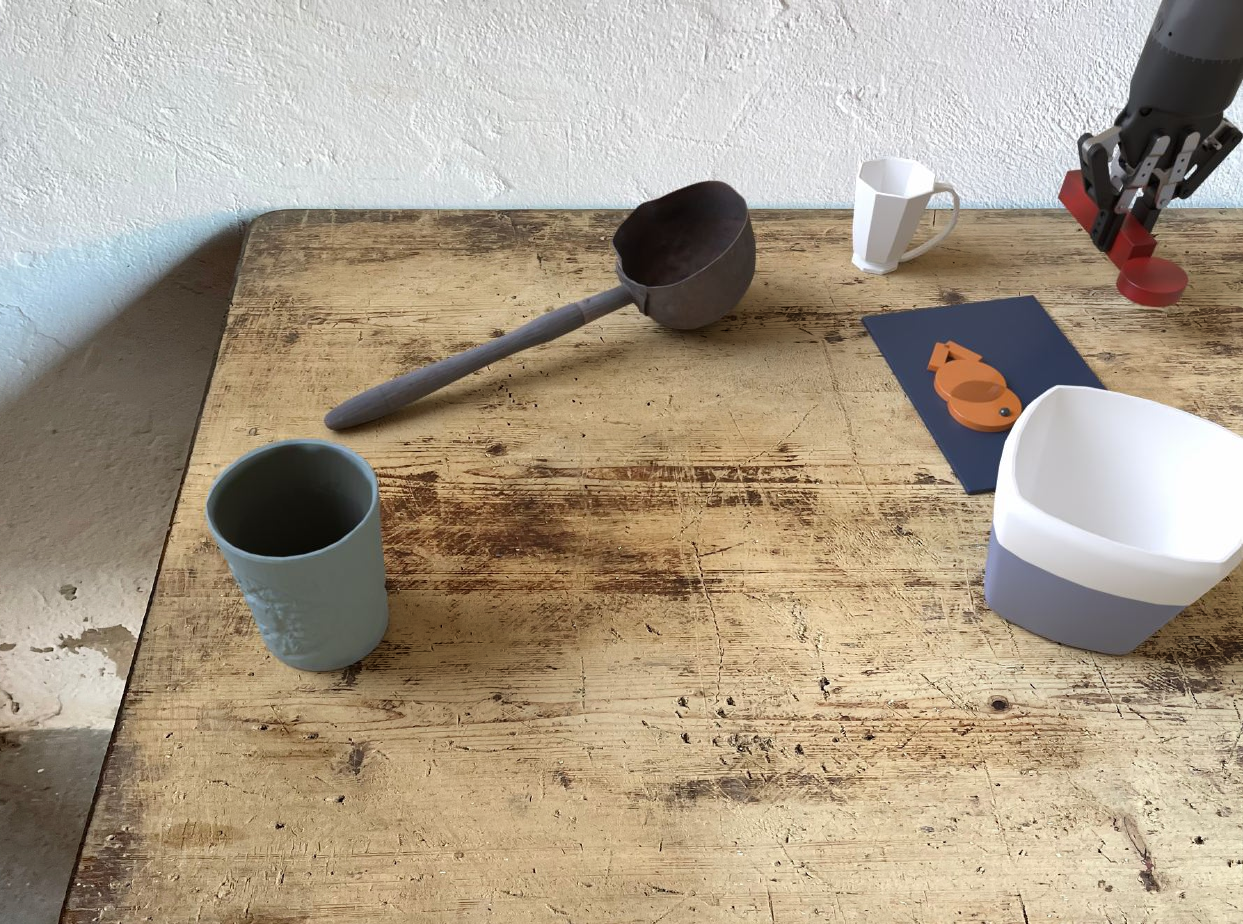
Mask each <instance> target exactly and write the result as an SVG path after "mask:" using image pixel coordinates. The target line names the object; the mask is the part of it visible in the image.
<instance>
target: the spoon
mask: <svg viewBox="0 0 1243 924" xmlns="http://www.w3.org/2000/svg"><path fill="white" fill-rule="evenodd" d="M1057 199H1058V200H1059V201H1060V203H1061V204H1062V205H1063V206H1064V208H1066V210H1067V211H1068V212H1069V213H1070V214H1071V215H1072V217H1073V218H1074V219H1075V220H1076V222H1078V224H1079V225H1080V226H1081V227H1082V228H1083V229H1084V230H1085V232H1086V233H1087V234H1088V235H1089V236H1090V231H1091V228H1092V227H1093V223H1094V222H1095V218H1096V216H1097V213H1098V211H1099V208H1098V207H1097V206H1096V205H1095V203H1094V202H1093V201H1092V200H1091V199H1090V198H1089V197H1088V195H1087V194H1086V193H1085V192H1084V186H1083V179H1082V173H1081V168H1080V169H1079V168H1078V169H1071V170H1067V171H1066V174H1065V176H1064V179H1063V182H1062V185H1061V187H1060V190H1059V193H1058V196H1057ZM1125 212H1126V213H1127V215H1126V217H1125V220H1124V222H1123V224H1122V227H1121V229H1120V230H1119V232H1118V235H1117V237H1116V239H1115V242H1114V244H1113V246H1112V249H1111V250H1110V251H1109V252H1103V253H1104V254H1105V255H1106V256H1107V257H1108V259H1109V260H1110V261H1111V262H1112V263H1113V265H1114V266H1115V267H1116V268H1117V269H1118V270H1119V273H1118V276H1117V279H1116V282H1115V285H1116V288H1117V291H1118V292H1119V294H1120V295H1122V296H1123V297H1124V298H1126V299H1127V300H1129V301H1130V302H1132V303H1134V304H1136V305H1137V304H1138V305H1140V306H1145V307H1148V308H1165V307H1166V308H1167V307H1171V306H1174V305H1175V304H1176V303H1178V302H1179V301H1180V300H1181V299H1182V297H1183V294H1184V292H1185V291H1186V289H1187V286H1188V284H1189V275H1188V274H1187V272H1186V271H1185V270H1184V269H1183V268H1182V267H1181V266H1179V265H1178V264H1176V263H1174V262H1173V261H1170V260H1168V259H1165V258H1161V257H1158V256H1153V254H1154V252H1155V250H1156V247H1157V246H1158V243H1159V242H1158V241H1157V240H1156V238H1155V237H1153V235H1152V233H1151V234H1150V233H1149V232H1148V231H1147V230H1146V229H1145V228H1144V227H1143V226H1142V225H1141V224H1140V223H1139V222H1138V220H1137V219H1136V218H1135V217H1134V216H1133V215H1132V214H1131V213H1130V212H1131V210H1129V208H1128V209H1127V210H1126V211H1125Z"/></svg>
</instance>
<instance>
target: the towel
mask: <svg viewBox="0 0 1243 924" xmlns="http://www.w3.org/2000/svg"><path fill="white" fill-rule="evenodd" d="M860 321H861V323H862V324H863V326H864V327H865V329H866V331H867V332H868V334H869V336H870V338H871V339H872V340H873V342H874V344H875V346H876V347H877V348H878V351H879V352H880V354H881V356H882V357H883V358H884V360H885V362H886V363H887V366H888V367H889V368H890V370H891V372H892V373H893V375H894V376H895V378H896V380H897V381H898V383H899V384H900V386H901V388H902V389H903V391H904V393H905V394H906V396H907V398H908V399H909V401H910V403H911V404H912V406H913V407H914V409H915V411H916V413H917V414H918V415H919V417H920V419H921V421H922V423H923V424H924V425H925V428H926V429H927V430H928V432H929V434H930V435H931V437H932V438H933V440H934V442H935V443H936V445H937V447H938V449H939V450H940V451H941V454H942V455H943V457H944V458H945V460H946V461H947V463H948V465H949V467H950V468H951V469H952V471H953V474H954V475H955V476H956V478H957V480H958V481H959V483H960V484H961V486H962V487H963V489H964V491H965V492H966V494H967V496H970V495H976V494H977V495H978V494H984V493H989V492H996V486H997V479H998V472H999V466H1000V461H1001V457H1002V453H1003V449H1004V445H1005V442H1006V440H1007V438H1008V436H1009V434H1010V432H1011V430H1012V428H1013V427H1011V428H1010V429H1007V430H1005V431H1001V432H981V431H976V430H973V429H970V428H968V427H966V426H964V425H962V424H960V423H959V422H958V421H956V420H955V419H954V418H953V417H952V415H951V414H950V412H949V410H948V406H947V402H946V401H945V400H944V399H942V398H941V397H940V396H939V395H938V393H937V392H936V390H935V387H934V378H935V375H936V372H935V371H931V370H927V368H928V365H929V362H930V359H931V357H932V354H933V351H934V348H935V346H936V343H937V342H938V343H942V344H946V343H947V342H949V341H952V342H954V343H956V344H958V345H960V346H962V347H964V348H966V349H968V350H970V351H972V352H974V353H976V354H978V355H980V356H982V357H983V358H982V361H981V362H982V363H984V364H987V365H989V366H991V367H993V368H994V369H996V370H997V371H998V372H999V373H1000V374H1001V375H1002V376H1003V378H1004V379H1005V382H1006V388H1007V389H1009V390H1010V391H1012V392H1013V393H1014V394H1015V395H1016V396H1017V397H1018V399H1019V400H1020V403H1021V407H1022V411H1021V414H1022V413H1023V412H1024V410H1025V409H1026V408H1027V406H1028V405H1029V404H1030V403H1032V402H1033V401H1034V400H1035V399H1037V398H1038V397H1039V396H1041V395H1042V394H1043V393H1045V392H1046V391H1047V390H1049V389H1051V388H1053V387H1054V386H1057V385H1065V386H1083V387H1091V388H1096V389H1102V390H1107V391H1109V390H1108V389H1107V388H1106V386H1105V385H1104V384H1103V382H1101V381H1102V380H1101V379H1099V377H1098V375H1096V374H1095V372H1094V371H1093V370H1092V368H1091V367H1090V366H1089V364H1088V363H1087V362H1086V361H1085V359H1084V358H1083V357H1082V355H1081V354H1080V353H1079V352H1078V350H1077V349H1076V348H1075V346H1074V345H1073V344H1072V343H1071V341H1070V340H1069V339H1068V338H1067V336H1066V335H1065V334H1064V333H1063V330H1062V329H1060V327H1059V326H1058V324H1056V322H1055V321H1054V320H1053V318H1052V317H1051V316H1050V315H1049V313H1048V312H1047V311H1046V309H1045V308H1044V307H1043V306H1042V304H1041V303H1040V302H1039V300H1037V298H1036V297H1035V295H1034V294H1029V295H1022V296H1013V297H1006V298H997V299H990V300H989V299H988V300H983V301H982V300H981V301H974V302H973V301H972V302H967V303H958V304H951V305H949V304H948V305H942V306H934V307H926V308H919V309H910V310H903V311H894V312H885V313H878V314H871V315H863V316H861V319H860ZM954 360H955V359H953V358H951V357H949V356H947V359H946V362H945V363H947V362H950V361H954ZM1021 414H1020V415H1021Z"/></svg>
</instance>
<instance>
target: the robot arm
mask: <svg viewBox="0 0 1243 924" xmlns="http://www.w3.org/2000/svg"><path fill="white" fill-rule="evenodd" d="M1139 56H1140V57H1139V58H1138V61H1137V64H1136V66H1135V68H1134V71H1133V73H1132V76H1131V79H1130V83H1129V93H1128V99H1127V103H1126V104H1125V106H1124V107H1123V108H1122V110H1121V111H1120V112H1119V113H1118V115H1116V117H1115V119H1114V121H1113V125H1112V126H1111V127H1109V128H1107V129H1106V130H1104V131H1102V132H1100V133H1098V134H1097V135H1095V136H1094V135H1093V134H1092V133H1091V132H1084V133H1083V134H1081V135H1080V136H1079V137H1078V139H1077V143H1076V144H1077V152H1078V159H1079V165H1080V169H1081V173H1082V179H1083V186H1084V192H1085V193H1086V194H1087V195H1088V197H1089V198H1090V199H1091V200H1092V201H1093V202H1094V203H1095V205H1096V206H1097V207H1098V208H1099V211H1098V213H1097V216H1096V218H1095V222H1094V223H1093V227H1092V228H1091V231H1090V235H1089V238H1090V239H1091V243H1092V244H1093V245H1094V246H1095V248H1096V249H1097V250H1098V251H1099V252H1100V253H1104V252H1109V251H1110V250H1111V249H1112V246H1113V244H1114V242H1115V239H1116V237H1117V235H1118V232H1119V230H1120V229H1121V227H1122V224H1123V222H1124V220H1125V217H1126V215H1127V213H1126V212H1125V211H1126V210H1127V209H1128V210H1129V208H1130V207H1131V206H1130V205H1131V203H1132V202H1133V200H1134V199H1135V200H1134V203H1133V205H1132V208H1131V209H1130V213H1131V214H1132V215H1133V216H1134V217H1135V218H1136V219H1137V220H1138V222H1139V223H1140V224H1141V225H1142V226H1143V227H1144V228H1145V229H1146V230H1147V231H1148V232H1149V233H1150V234H1151V235H1152V232H1153V230H1154V227H1155V225H1156V223H1157V221H1158V219H1159V217H1160V214H1161V212H1162V210H1163V209H1165V208H1166V207H1167V206H1169V204H1170V203H1171V201H1173V200H1175V199H1180V200H1182V201H1183V200H1187V199H1189V198H1190V197H1191V196H1192V195H1193V194H1194V193H1195V192H1196V191H1197V190H1198V189H1199V188H1200V186H1202V184H1204V182H1205V181H1206V180H1207V179H1208V178H1209V177H1210V175H1211V174H1212V173H1213V172H1214V171H1215V170H1216V169H1217V168H1218V167H1219V166H1220V165H1221V164H1222V163H1223V161H1225V159H1226V158H1227V157H1228V156H1229V155H1230V154H1231V153H1232V152H1233V151H1234V150H1235V148H1237V146H1238V145H1239V144H1240V143H1241V142H1242V140H1243V132H1242V131H1241V130H1239V128H1238V127H1237V126H1236V125H1235V124H1234V123H1233V122H1231V121H1230V120H1229V119H1228V118H1226V117H1224V111H1226V110H1227V109H1228V108H1229V107H1231V105H1232V103H1233V102H1234V99H1235V97H1236V95H1237V93H1238V92H1239V89H1240V87H1241V84H1242V83H1243V0H1161V2H1160V5H1159V7H1158V9H1157V13H1156V14H1155V16H1154V20H1153V22H1152V25H1151V27H1150V30H1149V32H1148V35H1147V37H1146V40H1145V43H1144V45H1143V47H1142V50H1141V53H1140V55H1139ZM1116 146H1117V148H1118V149H1117V151H1116V153H1115V156H1114V151H1115V148H1116ZM1110 163H1111V164H1110ZM1109 164H1110V166H1109ZM1195 166H1196V169H1195V170H1194V171H1193V172H1192V173H1191V174H1190V175H1189V176H1188V177H1187V178H1185V177H1186V176H1187V175H1188V173H1189V172H1191V170H1192V169H1193V168H1194V167H1195ZM1139 189H1141V193H1142V195H1140V196H1136V195H1137V192H1138V191H1139ZM1135 196H1136V198H1135Z"/></svg>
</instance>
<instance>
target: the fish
mask: <svg viewBox="0 0 1243 924" xmlns="http://www.w3.org/2000/svg"><path fill="white" fill-rule="evenodd" d="M947 356H949V357H951V358H953V359H955V360H954V361H950V362H947V363H945V362H946V359H947ZM982 358H983V357H982V356H980V355H978V354H976V353H974V352H972V351H970V350H968V349H966V348H964V347H962V346H960V345H958V344H956V343H954V342H952V341H949V342H947V343H946V344H942V343H938V342H937V343H936V346H935V348H934V351H933V354H932V357H931V359H930V362H929V365H928V368H927V370H931V371H935V372H936V375H935V378H934V387H935V390H936V392H937V393H938V395H939V396H940V397H941V398H942V399H944V400H945V401H946V402H947V406H948V410H949V412H950V414H951V415H952V417H953V418H954V419H955V420H956V421H958V422H959V423H960V424H962V425H964V426H966V427H968V428H970V429H973V430H976V431H981V432H1001V431H1005V430H1007V429H1010V428H1011V427H1013V426H1014V424H1015V422H1016V421H1017V419H1018V418H1019V417H1020V414H1021V411H1022V407H1021V403H1020V400H1019V399H1018V397H1017V396H1016V395H1015V394H1014V393H1013V392H1012V391H1010V390H1009V389H1007V388H1006V382H1005V379H1004V378H1003V376H1002V375H1001V374H1000V373H999V372H998V371H997V370H996V369H994V368H993V367H991V366H989V365H987V364H984V363H982V362H981V361H982Z"/></svg>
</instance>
